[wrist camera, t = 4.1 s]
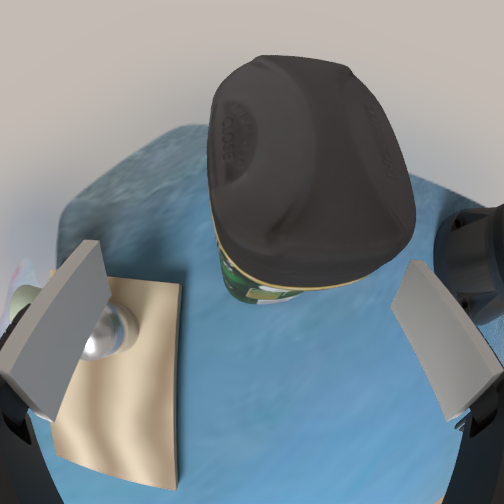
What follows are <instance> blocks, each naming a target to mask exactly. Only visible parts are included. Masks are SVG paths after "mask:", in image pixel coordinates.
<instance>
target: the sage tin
mask: <svg viewBox="0 0 504 504" xmlns="http://www.w3.org/2000/svg"><path fill="white" fill-rule="evenodd" d="M41 290H42V289H41V288H38V287H34V286H30V285H22V286H20V287H19V288H18V289H17V290H16V291H15V292H14V294H13V296H12V299H11V302H10V310H9V312H10V321H11V324H12V320H13V319H14V317H15V316H16V315H17V313H18V312H19V311H20V310H21V309H22V308H24V307H25V306H26V305H27V304H29V303H30V304H32V302H33V301H34V300H35V298H36V297H37V296H38V294H39V293H40V292H41Z"/></svg>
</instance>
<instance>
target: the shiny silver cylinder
mask: <svg viewBox="0 0 504 504" xmlns="http://www.w3.org/2000/svg"><path fill="white" fill-rule="evenodd" d="M138 334H139V326H138V321H137V319H136V317H135V315H134V313H133V312H132V311H131V310H130V309H129V308H128V307H126V306H124V305H122V304H118V303H112V302H107V304H106V306H105V308H104V310H103V312H102V314H101V316H100V318H99V320H98V322H97V324H96V326H95V328H94V330H93V332H92V334H91V336H90V338H89V340H88V342H87V344H86V346H85V349H84V351H83V353H82V355H81V357H80V360H84V361H94V360H97V359H101V358H104V357H108V356H111V355H115V354H118V353H122V352H125V351H127V350H129V349H130V348H132V347H133V346H134V344H135V343H136V341H137V338H138Z"/></svg>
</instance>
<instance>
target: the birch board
mask: <svg viewBox="0 0 504 504" xmlns="http://www.w3.org/2000/svg"><path fill="white" fill-rule="evenodd" d="M56 271H57V269H51V271H50V279H51V278H52V276H53V275H54V274H55V273H56ZM50 279H49V280H50ZM107 279H108V283H109V287H110V290H111V294H112V295H111V297H110V299H109V300H108V302H112V303H118V304H122V305H124V306H126V307H128V308H129V309H130V310H131V311H132V312H133V313H134V315H135V317H136V319H137V321H138V326H139V334H138V338H137V341H136V343H135V344H134V346H133V347H132V348H130V349H129V350H127V351H125V352H122V353H118V354H115V355H111V356H108V357H104V358H101V359H97V360H94V361H84V360H79V362H78V364H77V366H76V369H75V371H74V373H73V376H72V378H71V381H70V383H69V386H68V388H67V391H66V393H65V396H64V398H63V401H62V404H61V406H60V409H59V412H58V415H57V418H56V420H55V423H53V422H50V425H51V431H52V437H53V442H54V447H55V451H56V455H58V456H60V457H62V458H64V459H67V460H69V461H71V462H74V463H76V464H79V465H81V466H84V467H87V468H90V469H92V470H95V471H98V472H101V473H104V474H107V475H110V476H114V477H117V478H121V479H124V480H128V481H132V482H136V483H140V484H144V485H149V486H154V487H159V488H164V489H170V490H177V487H178V466H177V436H176V388H177V356H178V336H179V320H180V306H181V293H182V285H180V284H176V283H166V282H155V281H146V280H136V279H127V278H118V277H110V276H107Z"/></svg>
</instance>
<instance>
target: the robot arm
mask: <svg viewBox="0 0 504 504" xmlns="http://www.w3.org/2000/svg"><path fill="white" fill-rule="evenodd" d="M434 268H435V274H434V273H433V271H432V270H431V269H430V268H429V267H428V266H427V265H426V263H425V262H424V261H423V260H410V262H409V265H408V267H407V270H406V272H405V275H404V277H403V279H402V282H401V284H400V286H399V289H398V291H397V293H396V295H395V297H394V300H393V302H392V304H391V306H390V308H391V310H392V312H393V313H394V315H395V317H396V319H397V320H398V322H399V324H400V326H401V328H402V329H403V331H404V333H405V335H406V337H407V339H408V341H409V342H410V344H411V346H412V348H413V350H414V352H415V354H416V356H417V358H418V360H419V362H420V364H421V366H422V368H423V370H424V372H425V374H426V376H427V378H428V380H429V382H430V385H431V387H432V389H433V391H434V393H435V396H436V398H437V400H438V402H439V405H440V407H441V409H442V412H443V414H444V416H445V419H446V421H449V420H452V419H454V418H456V417H458V416H460V415H461V414H462V413H463V412H464V411H466V410H467V409H468V408H470V410H471V411H470V412H469V413H468V414H467V415H466V416H465V417H464V418H463V419H461V420H460V421H459V422H458V423H457V424H456V426H455V428H454V429H457V428H458V427H460V426H461V425H462V424H463V423H465V424H464V425H463V426H462V427H461V428H460V429H459V431H462V432H463V436H462V440H461V444H460V449H459V453H458V456H457V460H456V464H455V467H454V470H453V474H452V477H451V480H450V483H449V486H448V488H447V491H446V494H445V497H444V499H443V502H442V504H504V367H503V365H502V364H501V362H500V361H499V359H498V357H497V356H496V354H495V353H494V351H493V349H492V348H491V346H489V345H488V344H489V343H488V342H487V340H486V339H485V338H484V336H483V334H482V333H481V332H480V330H479V329H478V327H477V326H476V325H484V324H487V323H489V322H491V321H492V320H494V319H496V318H498V317H499V316H501V315H503V314H504V204H502V205H500V206H498V207H494V208H476V209H464V210H461V211H459V212H457V213H455V214H453V215H451V216H449V217H448V218H447V219H446V220H445V221H444V222H443V223H442V225H441V226H440V228H439V231H438V233H437V237H436V241H435V248H434ZM111 295H112V294H111V290H110V287H109V283H108V279H107V274H106V270H105V266H104V261H103V256H102V252H101V247H100V241H98V240H84V241H83V242H82V243H81V244H80V245H79V246H78V247H77V248H76V249H75V250H74V252H73V253H72V254H71V255H70V256H69V257H68V258H67V260H66V261H65V262H64V263H63V264H62V265H61V267H60V268H59V269H58V270H57V271H56V273H55V274H54V275H53V276H52V278H51V279H50V280H49V282H48V283H47V284H46V285H45V287H44V288H43V289H42V290H41V292H40V293H39V294H38V296H37V297H36V298H35V300H34V301H33V302H32V304H30V303H29V304H27V305H26V306H25V307H24V308H22V309H21V310H20V311H19V312H18V313H17V315H16V316H15V317H14V319H13V320H12V324H10V325H9V326H8V328H7V329H6V333H5V332H4V334H3V335H2V337H1V338H0V504H64V502H63V501H62V499H61V497H60V495H59V493H58V491H57V489H56V486H55V484H54V482H53V480H52V478H51V475H50V473H49V471H48V468H47V466H46V463H45V461H44V458H43V456H42V453H41V450H40V447H39V445H38V442H37V439H36V435H35V432H34V429H33V426H32V422H31V419H30V417H29V415H28V414H27V411H28V408H30V409H31V410H32V411H33V412H34V413H35V414H36V415H37V416H39V417H41V418H43V419H46V420H48V421H50V422H53V423H55V420H56V418H57V415H58V412H59V409H60V406H61V404H62V401H63V398H64V396H65V393H66V391H67V388H68V386H69V383H70V381H71V378H72V376H73V373H74V371H75V369H76V366H77V364H78V362H79V360H80V357H81V355H82V353H83V351H84V349H85V346H86V344H87V342H88V340H89V338H90V336H91V334H92V332H93V330H94V328H95V326H96V324H97V322H98V320H99V318H100V316H101V314H102V312H103V310H104V308H105V306H106V304H107V302H108V300H109V299H110V297H111Z"/></svg>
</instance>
